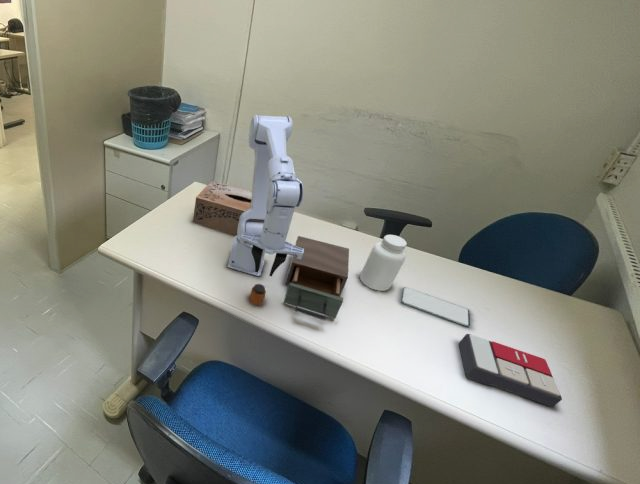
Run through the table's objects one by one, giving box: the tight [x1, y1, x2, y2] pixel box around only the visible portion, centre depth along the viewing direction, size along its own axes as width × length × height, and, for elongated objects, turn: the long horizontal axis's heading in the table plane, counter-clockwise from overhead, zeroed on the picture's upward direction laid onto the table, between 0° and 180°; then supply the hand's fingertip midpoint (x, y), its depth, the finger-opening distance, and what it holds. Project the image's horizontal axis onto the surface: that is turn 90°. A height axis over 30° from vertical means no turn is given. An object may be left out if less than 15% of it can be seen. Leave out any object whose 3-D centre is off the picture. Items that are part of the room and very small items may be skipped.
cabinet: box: [284, 235, 350, 297], centre depth 112 cm, size 14×14×8 cm
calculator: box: [458, 333, 563, 408], centre depth 87 cm, size 11×4×15 cm
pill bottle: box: [359, 234, 408, 292], centre depth 109 cm, size 8×8×15 cm
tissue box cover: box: [192, 180, 264, 237], centre depth 135 cm, size 26×14×10 cm, turn 59°
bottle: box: [248, 283, 267, 306], centre depth 105 cm, size 4×4×5 cm
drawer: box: [283, 266, 344, 321], centre depth 103 cm, size 17×13×6 cm
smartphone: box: [401, 287, 471, 327], centre depth 105 cm, size 7×1×15 cm
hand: (264, 271), depth 100 cm, fingers open, 3 cm apart
